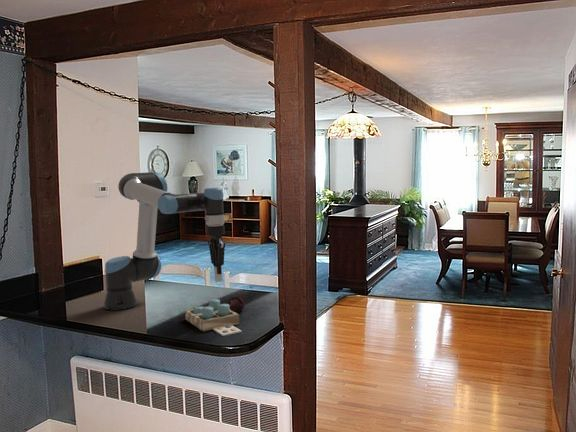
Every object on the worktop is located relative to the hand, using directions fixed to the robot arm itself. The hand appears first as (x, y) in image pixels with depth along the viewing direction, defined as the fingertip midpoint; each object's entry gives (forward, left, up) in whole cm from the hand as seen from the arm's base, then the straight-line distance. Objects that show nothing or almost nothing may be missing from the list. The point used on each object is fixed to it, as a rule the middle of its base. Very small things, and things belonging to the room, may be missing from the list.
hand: (218, 281), depth 214 cm
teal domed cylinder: (-2, -6, -15) cm, 16 cm away
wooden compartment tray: (-4, 0, -18) cm, 18 cm away
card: (+8, -8, -18) cm, 21 cm away
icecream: (-3, +17, -18) cm, 25 cm away
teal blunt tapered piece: (+2, +1, -15) cm, 15 cm away
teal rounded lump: (-10, -1, -17) cm, 20 cm away
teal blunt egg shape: (-7, +6, -15) cm, 17 cm away
